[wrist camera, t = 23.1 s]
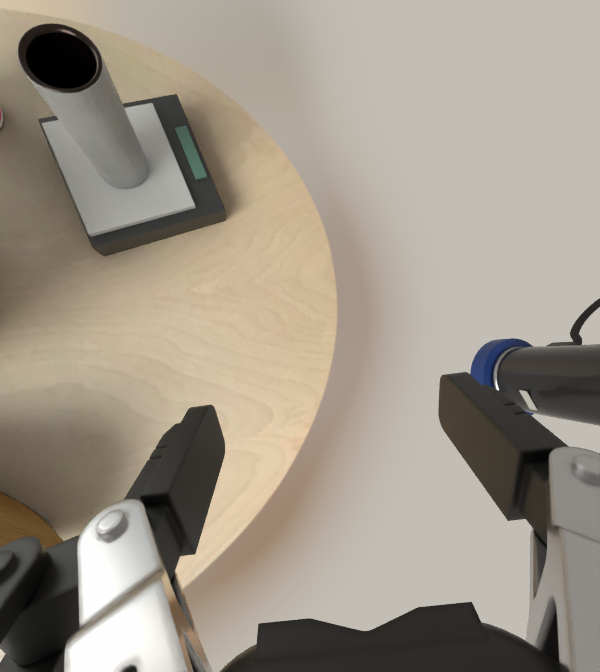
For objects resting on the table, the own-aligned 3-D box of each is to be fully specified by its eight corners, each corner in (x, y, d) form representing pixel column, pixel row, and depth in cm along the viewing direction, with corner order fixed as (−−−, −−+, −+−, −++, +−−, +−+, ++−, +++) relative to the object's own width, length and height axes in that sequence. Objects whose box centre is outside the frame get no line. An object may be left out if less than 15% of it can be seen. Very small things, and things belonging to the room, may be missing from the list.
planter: (154, 185, 28) (110, 89, 18) (103, 193, 27) (27, 95, 17) (142, 141, 28) (90, 21, 18) (90, 147, 27) (6, 22, 17)
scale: (180, 112, 32) (175, 88, 29) (225, 220, 32) (225, 207, 29) (53, 137, 29) (33, 113, 26) (103, 256, 29) (89, 245, 26)
